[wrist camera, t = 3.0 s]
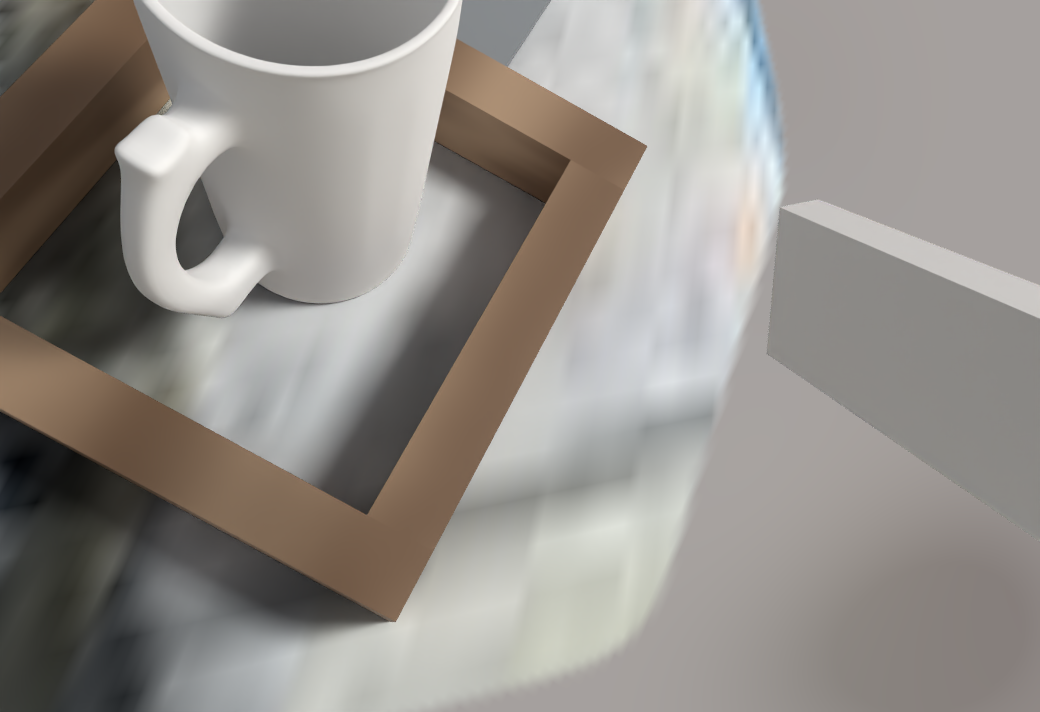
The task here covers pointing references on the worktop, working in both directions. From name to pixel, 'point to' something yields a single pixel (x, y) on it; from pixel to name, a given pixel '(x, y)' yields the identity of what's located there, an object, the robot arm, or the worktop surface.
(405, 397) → the worktop surface
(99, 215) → the worktop surface
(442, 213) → the worktop surface
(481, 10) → the rubber mat
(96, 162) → the walnut collar
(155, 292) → the mug
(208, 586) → the worktop surface
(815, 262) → the robot arm
